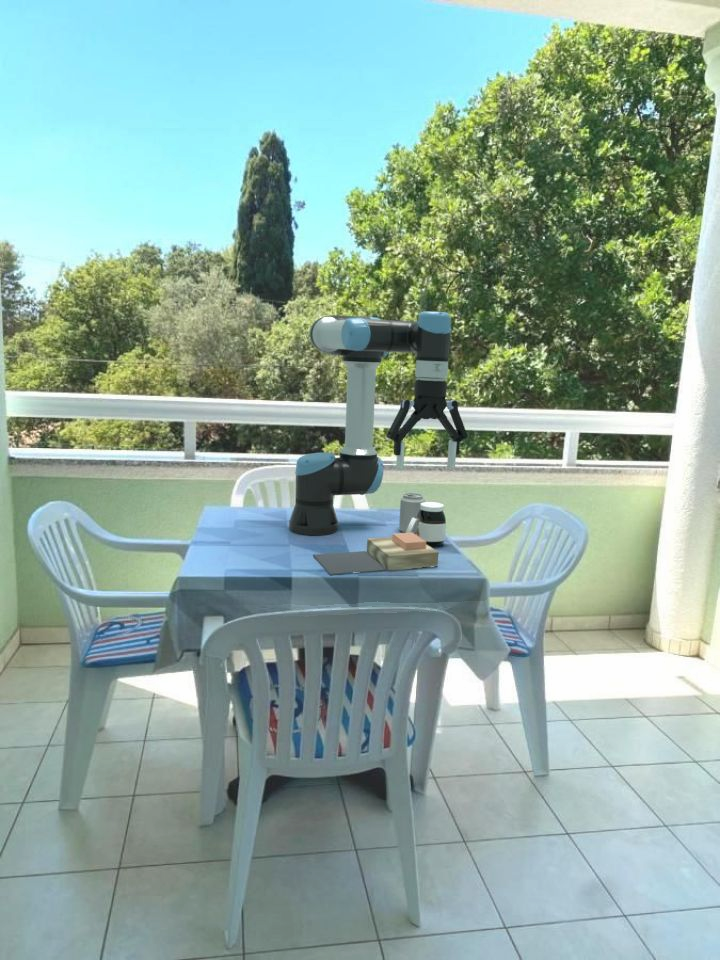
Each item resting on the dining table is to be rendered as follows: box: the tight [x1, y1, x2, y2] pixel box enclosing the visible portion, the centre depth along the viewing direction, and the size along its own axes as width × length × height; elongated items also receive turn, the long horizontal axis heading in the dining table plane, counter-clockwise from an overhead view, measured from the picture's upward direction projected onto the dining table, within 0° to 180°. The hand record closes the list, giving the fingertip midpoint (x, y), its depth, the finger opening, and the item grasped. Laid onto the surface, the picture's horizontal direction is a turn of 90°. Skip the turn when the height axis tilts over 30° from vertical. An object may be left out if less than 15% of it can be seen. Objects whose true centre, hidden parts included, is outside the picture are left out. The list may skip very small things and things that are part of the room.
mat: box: [312, 550, 388, 576], centre depth 177 cm, size 16×15×1 cm
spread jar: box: [406, 501, 447, 547], centre depth 199 cm, size 12×11×12 cm
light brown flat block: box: [391, 532, 426, 550], centre depth 182 cm, size 9×6×2 cm, turn 20°
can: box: [398, 492, 426, 534], centre depth 209 cm, size 8×8×12 cm
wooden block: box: [366, 536, 439, 572], centre depth 182 cm, size 16×14×4 cm
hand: (425, 468), depth 163 cm, fingers open, 13 cm apart
